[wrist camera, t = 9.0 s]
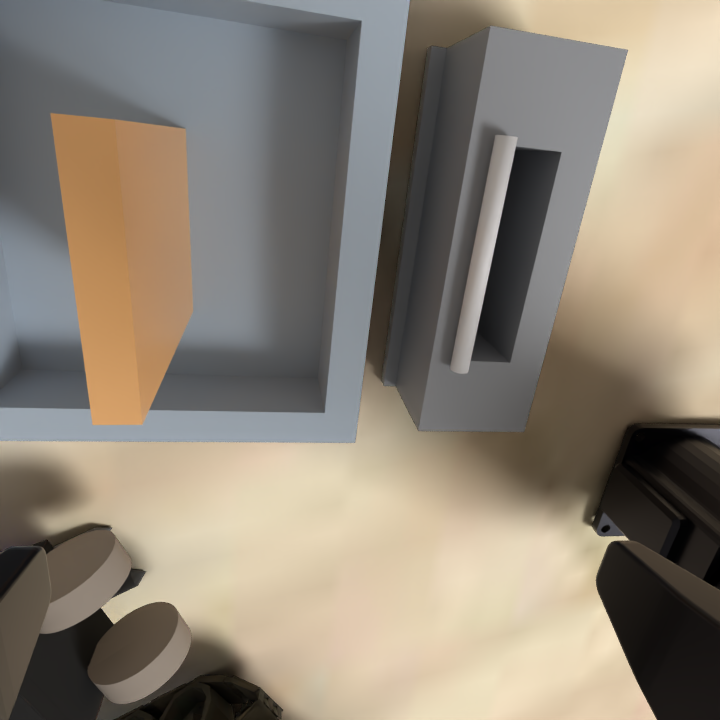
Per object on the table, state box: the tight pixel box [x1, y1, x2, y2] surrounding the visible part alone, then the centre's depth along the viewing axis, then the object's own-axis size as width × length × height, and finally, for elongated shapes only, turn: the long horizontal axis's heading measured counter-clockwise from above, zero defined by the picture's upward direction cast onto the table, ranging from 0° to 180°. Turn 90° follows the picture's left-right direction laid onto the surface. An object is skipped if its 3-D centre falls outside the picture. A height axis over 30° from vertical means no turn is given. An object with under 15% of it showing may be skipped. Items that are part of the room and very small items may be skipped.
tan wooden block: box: [50, 113, 193, 425], centre depth 13 cm, size 1×6×8 cm, turn 175°
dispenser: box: [381, 26, 628, 432], centre depth 17 cm, size 5×12×5 cm, turn 174°
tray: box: [0, 0, 410, 443], centre depth 16 cm, size 13×14×3 cm
